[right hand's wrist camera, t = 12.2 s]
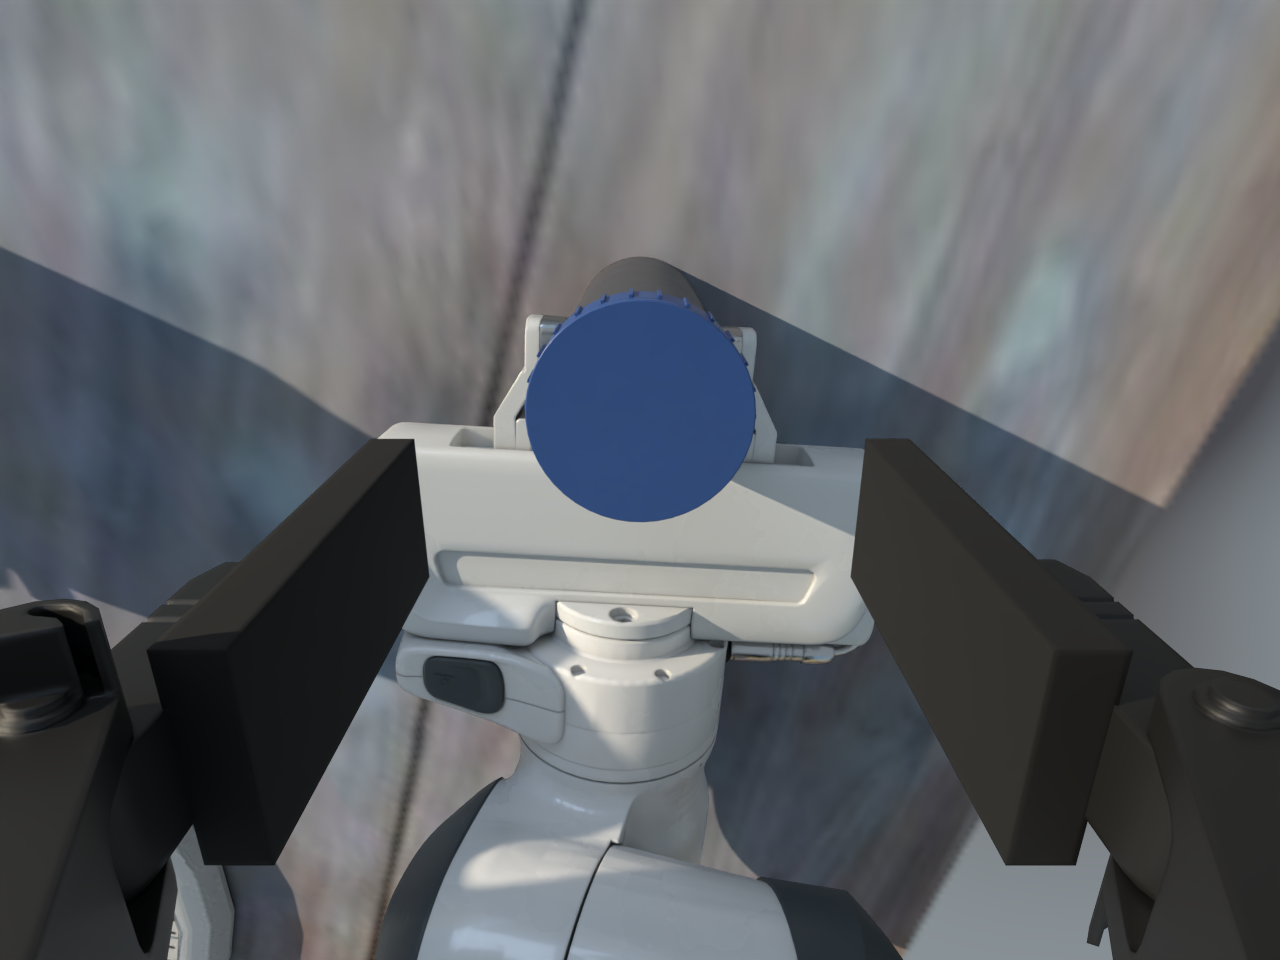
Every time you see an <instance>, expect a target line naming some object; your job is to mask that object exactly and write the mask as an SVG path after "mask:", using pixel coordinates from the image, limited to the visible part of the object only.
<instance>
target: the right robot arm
mask: <svg viewBox="0 0 1280 960" xmlns="http://www.w3.org/2000/svg"><path fill="white" fill-rule="evenodd" d="M429 577H430V576H429V567H428V558H427V549H426V540H425V531H424V522H423V513H422V504H421V495H420V486H419V477H418V467H417V458H416V449H415V440H414V439H370V440H369V441H368V442H367V443H366V444H365V445H364V446H363V447H362V448H361V449H360V450H359V451H358V452H357V453H355V454H354V455H353V456H352V457H351V458H350V459H349V460H348V461H347V462H346V463H345V464H344V465H343V466H342V467H341V468H340V469H338V470H337V471H336V472H335V473H334V474H333V475H332V476H331V477H330V478H329V479H328V480H327V481H326V482H325V483H324V484H322V485H321V486H320V487H319V488H318V489H317V490H316V491H315V492H314V493H313V494H312V495H311V496H310V497H309V498H308V499H307V500H305V501H304V502H303V503H302V504H301V505H300V506H299V507H298V508H297V509H296V510H295V511H294V512H293V513H292V514H291V515H290V516H288V517H287V518H286V519H285V520H284V521H283V522H282V523H281V524H280V525H279V526H278V527H277V528H276V529H275V530H274V531H272V532H271V533H270V534H269V535H268V536H267V537H266V538H265V539H264V540H263V541H262V542H261V543H260V544H259V545H258V546H257V547H255V548H254V549H253V550H252V551H251V552H250V553H249V554H248V555H247V556H246V557H245V558H244V559H243V560H242V561H241V562H225V563H223V564H221V565H219V566H217V567H215V568H213V569H211V570H209V571H207V572H205V573H203V574H201V575H199V576H197V577H195V578H193V579H191V580H190V581H189V582H188V583H187V584H185V585H184V586H183V587H182V588H181V589H180V590H179V591H177V592H176V593H175V594H174V595H173V596H172V597H171V598H169V599H168V600H167V605H161V606H160V607H159V608H158V609H157V610H156V611H155V612H153V613H152V614H151V615H150V616H149V617H148V618H147V622H142V623H141V624H140V625H139V626H137V627H136V628H135V629H134V630H133V631H132V632H131V633H130V634H128V635H127V636H126V637H125V638H124V639H123V640H122V641H120V642H119V643H118V644H117V645H116V646H115V647H114V648H112V649H110V646H109V642H108V639H107V635H106V632H105V628H104V625H103V621H102V618H101V615H100V611H99V608H97V607H95V606H94V605H92V604H90V603H88V602H87V601H79V600H70V599H57V600H47V601H36V602H31V603H27V604H22V605H18V606H14V607H9V608H5V609H1V610H0V960H167V958H168V952H169V945H170V939H171V932H172V926H173V919H174V913H175V906H176V900H177V893H178V887H177V881H176V874H175V871H174V867H173V864H172V860H171V857H170V856H171V855H172V854H173V852H174V851H175V849H176V848H177V846H178V845H179V844H180V842H181V841H182V839H183V838H184V836H185V835H186V834H187V832H188V831H189V829H190V828H191V826H192V825H194V829H195V833H196V836H197V840H198V844H199V848H200V851H201V855H202V859H203V862H204V865H275V863H276V861H277V859H278V858H279V856H280V854H281V852H282V850H283V848H284V846H285V845H286V843H287V841H288V839H289V837H290V835H291V833H292V832H293V830H294V828H295V826H296V824H297V822H298V820H299V819H300V817H301V815H302V813H303V811H304V809H305V807H306V806H307V804H308V802H309V800H310V798H311V796H312V794H313V793H314V791H315V789H316V787H317V785H318V783H319V781H320V780H321V778H322V776H323V774H324V772H325V770H326V768H327V767H328V765H329V763H330V761H331V759H332V757H333V755H334V754H335V752H336V750H337V748H338V746H339V744H340V742H341V741H342V739H343V737H344V735H345V733H346V731H347V729H348V728H349V726H350V724H351V722H352V720H353V718H354V716H355V714H356V713H357V711H358V709H359V707H360V705H361V703H362V701H363V700H364V698H365V696H366V694H367V692H368V690H369V688H370V687H371V685H372V683H373V681H374V679H375V677H376V675H377V674H378V672H379V670H380V668H381V666H382V664H383V662H384V661H385V659H386V657H387V655H388V653H389V651H390V649H391V648H392V646H393V644H394V642H395V640H396V638H397V636H398V635H399V633H400V631H401V629H402V627H403V625H404V623H405V622H406V620H407V618H408V616H409V614H410V612H411V610H412V609H413V607H414V605H415V603H416V601H417V599H418V597H419V596H420V594H421V592H422V590H423V588H424V586H425V584H426V583H427V581H428V579H429ZM850 577H851V579H852V581H853V583H854V584H855V586H856V588H857V590H858V592H859V594H860V596H861V597H862V599H863V601H864V603H865V605H866V607H867V609H868V610H869V612H870V614H871V616H872V618H873V620H874V622H875V623H876V625H877V627H878V629H879V631H880V633H881V635H882V636H883V638H884V640H885V642H886V644H887V646H888V648H889V649H890V651H891V653H892V655H893V657H894V659H895V661H896V662H897V664H898V666H899V668H900V670H901V672H902V674H903V675H904V677H905V679H906V681H907V683H908V685H909V687H910V688H911V690H912V692H913V694H914V696H915V698H916V700H917V701H918V703H919V705H920V707H921V709H922V711H923V713H924V715H925V716H926V718H927V720H928V722H929V724H930V726H931V728H932V729H933V731H934V733H935V735H936V737H937V739H938V741H939V742H940V744H941V746H942V748H943V750H944V752H945V754H946V755H947V757H948V759H949V761H950V763H951V765H952V767H953V768H954V770H955V772H956V774H957V776H958V778H959V780H960V781H961V783H962V785H963V787H964V789H965V791H966V793H967V794H968V796H969V798H970V800H971V802H972V804H973V806H974V807H975V809H976V811H977V813H978V815H979V817H980V819H981V820H982V822H983V824H984V826H985V828H986V830H987V832H988V833H989V835H990V837H991V839H992V841H993V843H994V845H995V846H996V848H997V850H998V852H999V854H1000V856H1001V857H1002V859H1003V861H1004V863H1005V865H1076V862H1077V858H1078V855H1079V851H1080V848H1081V844H1082V840H1083V836H1084V833H1085V829H1086V825H1087V822H1089V824H1090V825H1091V827H1092V828H1093V829H1094V831H1095V832H1096V834H1097V835H1098V837H1099V838H1100V839H1101V841H1102V842H1103V844H1104V845H1105V846H1106V848H1107V849H1108V851H1109V852H1110V857H1109V860H1108V864H1107V867H1106V871H1105V874H1104V878H1103V881H1102V884H1101V888H1100V891H1099V895H1098V898H1097V902H1096V905H1095V909H1094V912H1093V916H1092V919H1091V923H1090V926H1089V933H1088V939H1087V943H1089V944H1092V945H1095V946H1099V944H1100V941H1101V938H1102V934H1103V931H1104V929H1106V928H1107V927H1108V930H1109V936H1110V943H1111V949H1112V956H1113V960H1280V690H1278V689H1275V688H1273V687H1271V686H1268V685H1266V684H1264V683H1261V682H1259V681H1257V680H1254V679H1251V678H1247V677H1244V676H1240V675H1236V674H1233V673H1229V672H1225V671H1220V670H1211V669H1202V668H1194V667H1193V666H1192V665H1190V664H1189V663H1188V662H1187V661H1186V660H1185V659H1184V658H1182V657H1181V656H1180V655H1179V654H1178V653H1177V652H1175V651H1174V650H1173V649H1172V648H1171V647H1170V646H1169V645H1167V644H1166V643H1165V642H1164V641H1163V640H1162V639H1161V638H1159V637H1158V636H1157V635H1156V634H1155V633H1154V632H1152V631H1151V630H1150V629H1149V628H1148V627H1147V626H1146V625H1144V624H1143V623H1142V622H1141V621H1140V620H1138V619H1136V620H1135V619H1134V618H1133V616H1134V615H1133V614H1132V613H1131V612H1129V611H1128V610H1127V609H1126V608H1125V607H1124V606H1123V605H1121V604H1120V603H1119V602H1114V598H1113V597H1112V596H1111V595H1110V594H1109V593H1108V592H1106V591H1105V590H1104V589H1103V588H1102V587H1101V586H1100V585H1098V584H1097V583H1096V582H1095V581H1094V580H1093V579H1092V578H1090V577H1089V576H1087V575H1085V574H1083V573H1081V572H1079V571H1077V570H1075V569H1073V568H1071V567H1069V566H1067V565H1065V564H1063V563H1061V562H1059V561H1057V560H1037V559H1036V558H1035V557H1034V556H1033V555H1032V554H1031V553H1030V552H1029V551H1028V550H1027V549H1026V548H1025V547H1023V546H1022V545H1021V544H1020V543H1019V542H1018V541H1017V540H1016V539H1015V538H1014V537H1013V536H1012V535H1011V534H1010V533H1009V532H1008V531H1006V530H1005V529H1004V528H1003V527H1002V526H1001V525H1000V524H999V523H998V522H997V521H996V520H995V519H994V518H993V517H992V516H990V515H989V514H988V513H987V512H986V511H985V510H984V509H983V508H982V507H981V506H980V505H979V504H978V503H977V502H976V501H975V500H973V499H972V498H971V497H970V496H969V495H968V494H967V493H966V492H965V491H964V490H963V489H962V488H961V487H960V486H959V485H958V484H956V483H955V482H954V481H953V480H952V479H951V478H950V477H949V476H948V475H947V474H946V473H945V472H944V471H943V470H942V469H940V468H939V467H938V466H937V465H936V464H935V463H934V462H933V461H932V460H931V459H930V458H929V457H928V456H927V455H926V454H925V453H923V452H922V451H921V450H920V449H919V448H918V447H917V446H916V445H915V444H914V443H913V442H912V441H911V440H910V439H866V440H865V449H864V458H863V467H862V477H861V486H860V495H859V504H858V513H857V522H856V531H855V540H854V549H853V558H852V567H851V576H850Z"/></svg>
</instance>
